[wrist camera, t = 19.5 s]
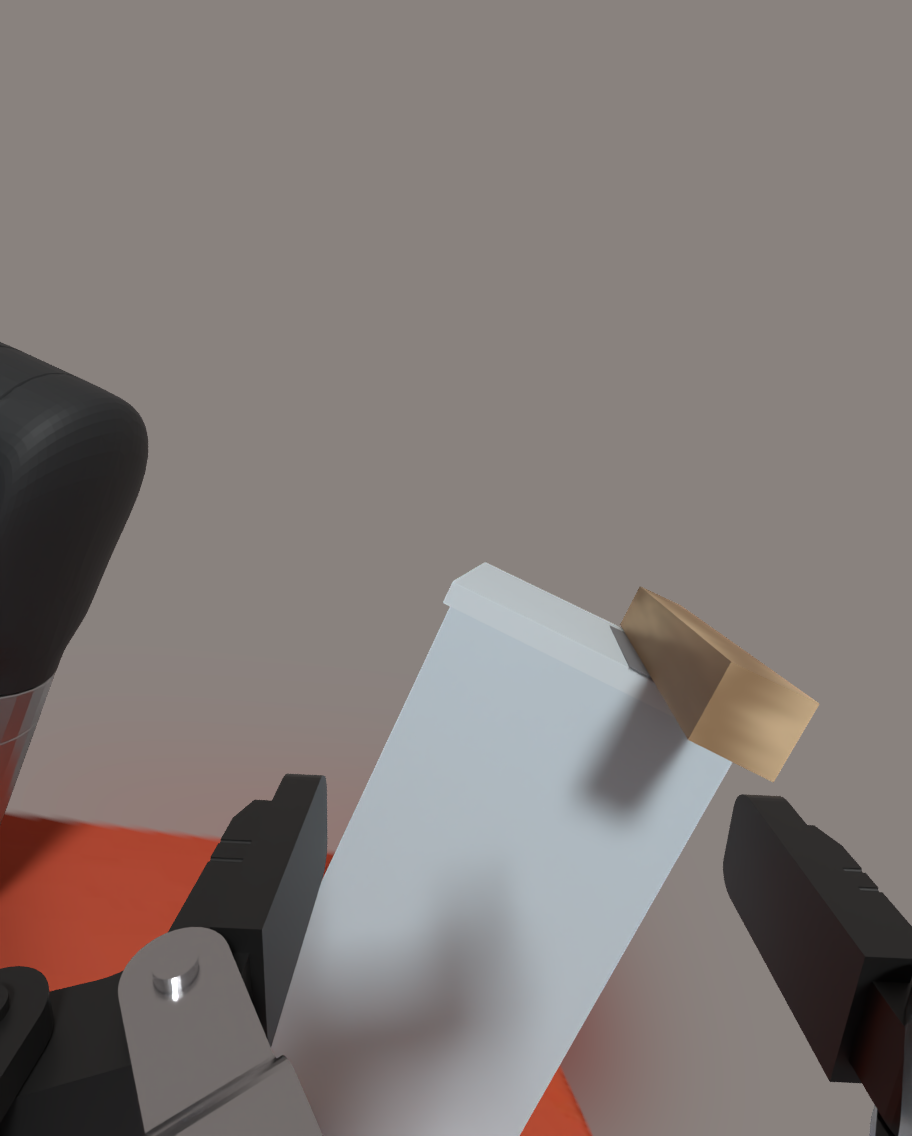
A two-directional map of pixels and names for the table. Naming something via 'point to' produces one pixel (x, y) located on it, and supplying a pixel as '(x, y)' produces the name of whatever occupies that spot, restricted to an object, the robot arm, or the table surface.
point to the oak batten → (717, 686)
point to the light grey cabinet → (490, 870)
